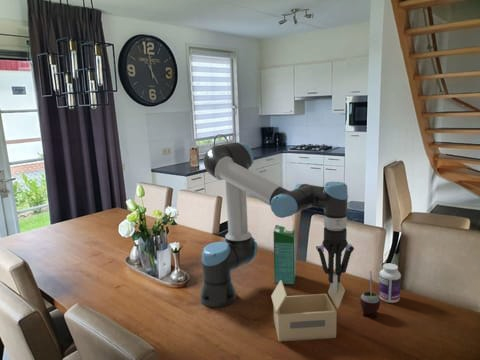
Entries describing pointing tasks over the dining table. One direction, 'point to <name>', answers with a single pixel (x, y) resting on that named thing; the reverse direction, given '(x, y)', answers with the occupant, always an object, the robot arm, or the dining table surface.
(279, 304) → the flap left
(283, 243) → the milk carton
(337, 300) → the flap right
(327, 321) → the carton
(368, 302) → the mate gourd
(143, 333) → the dining table surface
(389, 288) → the pill bottle
